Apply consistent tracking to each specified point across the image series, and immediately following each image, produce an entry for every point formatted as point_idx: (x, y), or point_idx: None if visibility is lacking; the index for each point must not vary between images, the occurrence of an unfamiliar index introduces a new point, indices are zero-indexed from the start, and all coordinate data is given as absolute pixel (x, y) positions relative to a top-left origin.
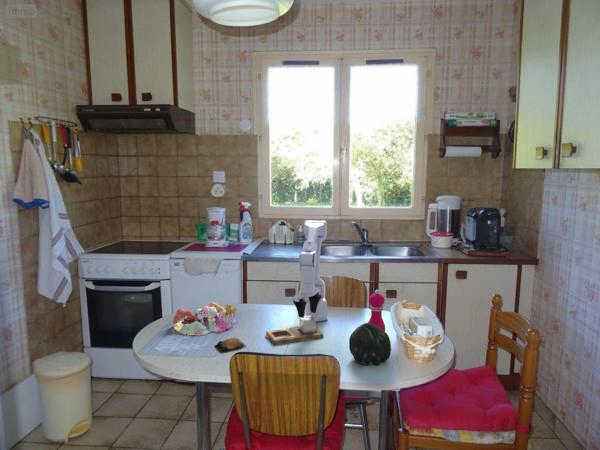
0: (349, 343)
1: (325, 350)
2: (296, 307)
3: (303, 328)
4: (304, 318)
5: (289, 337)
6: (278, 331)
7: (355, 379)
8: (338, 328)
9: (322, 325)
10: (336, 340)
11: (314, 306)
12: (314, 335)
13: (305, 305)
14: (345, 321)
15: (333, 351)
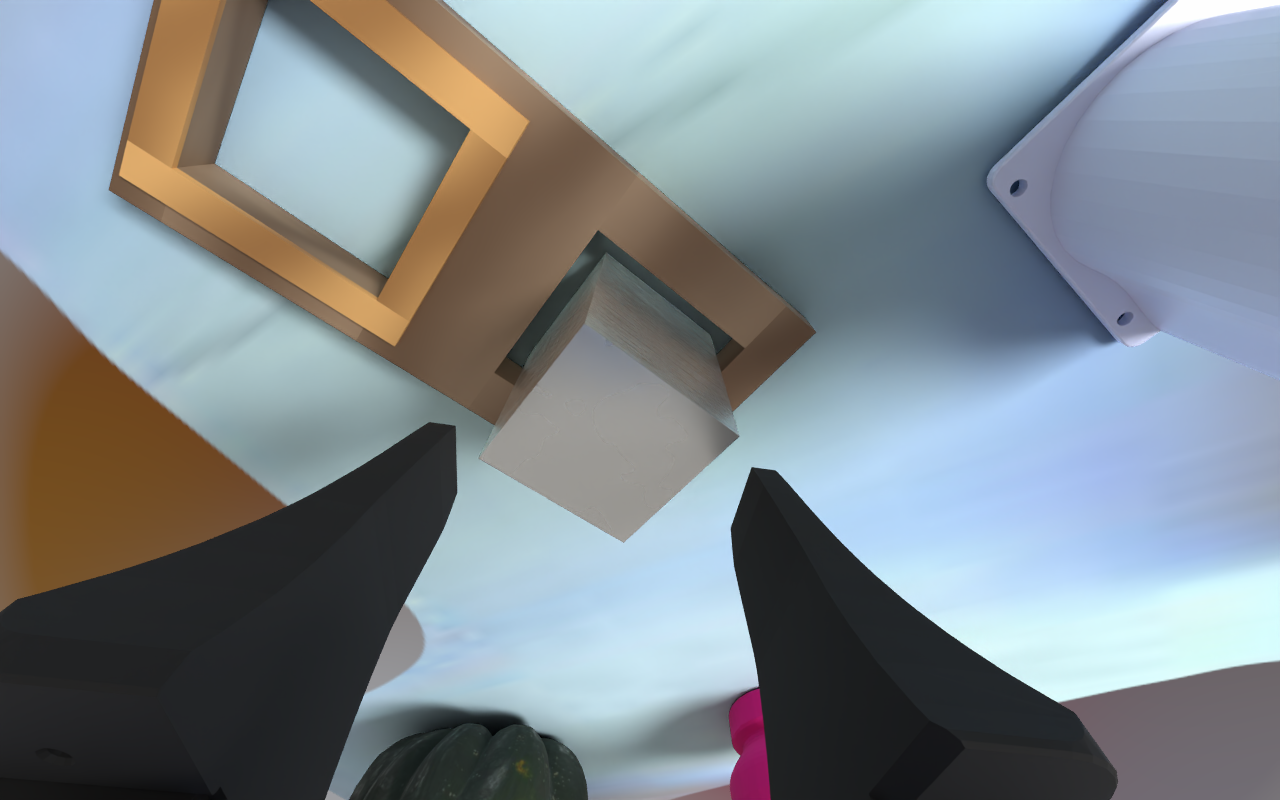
0: (405, 792)
1: (435, 577)
2: (265, 529)
3: (513, 391)
4: (565, 425)
5: (322, 299)
6: (359, 37)
7: None
8: (891, 503)
9: (930, 359)
10: (635, 572)
11: (760, 614)
12: None
13: (334, 747)
14: (1098, 489)
15: (458, 613)
